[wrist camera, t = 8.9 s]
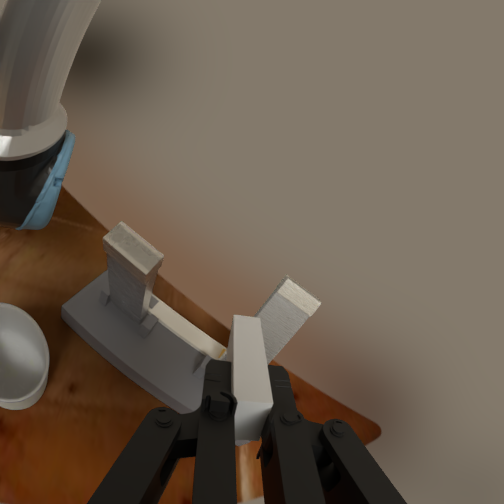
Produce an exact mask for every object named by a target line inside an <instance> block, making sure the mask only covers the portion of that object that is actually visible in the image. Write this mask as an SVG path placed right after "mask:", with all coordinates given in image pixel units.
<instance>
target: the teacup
mask: <svg viewBox="0 0 504 504" xmlns="http://www.w3.org/2000/svg"><path fill="white" fill-rule="evenodd" d="M48 369H49V349H48V345H47V342H46V338H45V336H44V334H43V332H42V330H41V329H40V327H39V325H38V324H37V322H36V321H35V320H34V319H33V318H32V317H31V316H30V315H29V314H28V313H26V312H25V311H24V310H22V309H20V308H19V307H17V306H14V305H11V304H8V303H0V406H1V407H3V408H6V409H11V410H21V409H25V408H28V407H30V406H32V405H33V404H35V403H36V402H37V401H38V400H39V399H40V397H41V396H42V394H43V392H44V390H45V387H46V384H47V379H48Z"/></svg>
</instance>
